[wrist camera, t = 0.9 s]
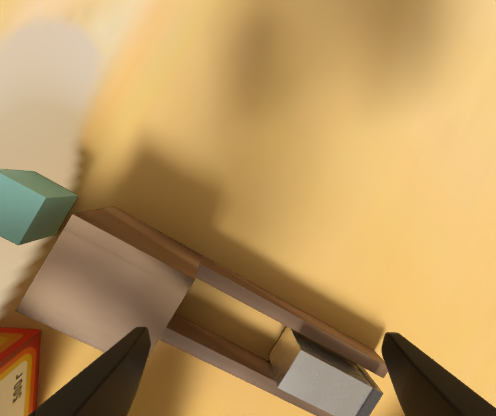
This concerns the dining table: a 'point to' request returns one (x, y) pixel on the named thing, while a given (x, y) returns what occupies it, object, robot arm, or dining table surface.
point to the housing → (160, 298)
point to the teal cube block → (31, 206)
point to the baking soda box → (19, 370)
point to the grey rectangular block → (322, 376)
